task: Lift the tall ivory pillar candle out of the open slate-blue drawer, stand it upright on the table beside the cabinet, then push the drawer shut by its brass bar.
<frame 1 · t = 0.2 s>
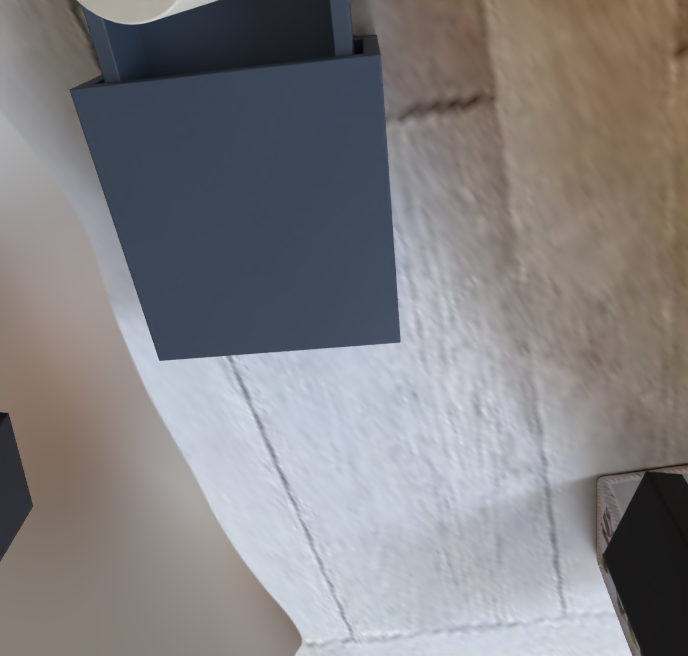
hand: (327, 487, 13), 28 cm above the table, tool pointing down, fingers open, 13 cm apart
cabinet: (271, 183, 38), on the table
decorative jar: (659, 509, 53), on the table
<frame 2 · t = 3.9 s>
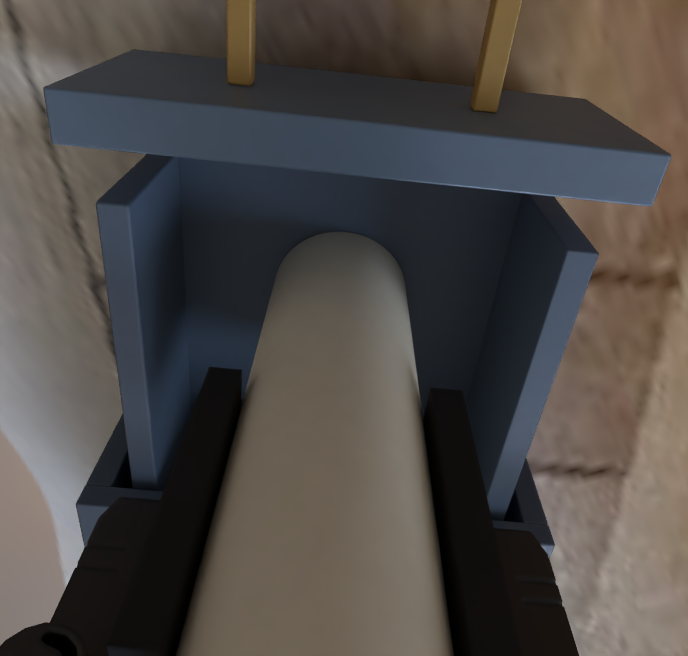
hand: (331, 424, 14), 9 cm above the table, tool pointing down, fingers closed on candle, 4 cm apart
cabinet: (315, 504, 29), on the table
drawer: (343, 270, 18), point 4 cm above the table, slide at 10.5 cm, touching candle
candle: (339, 291, 20), point 2 cm above the table, touching drawer, gripper
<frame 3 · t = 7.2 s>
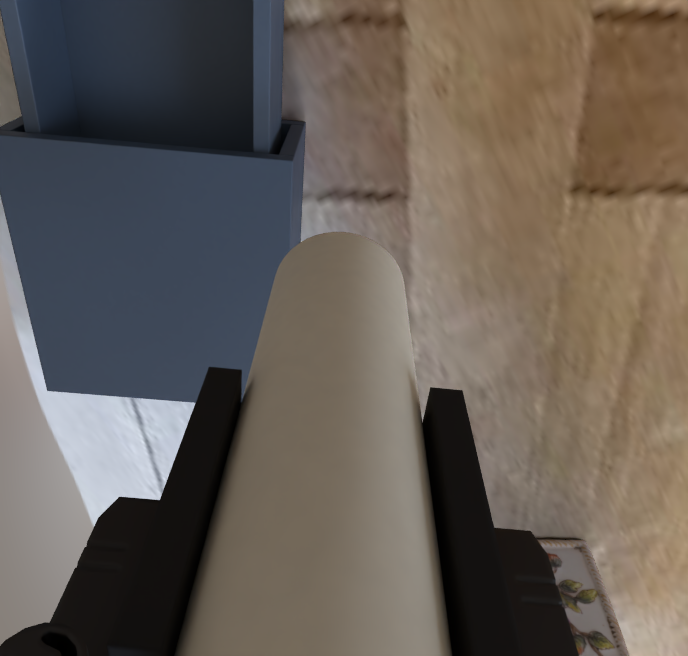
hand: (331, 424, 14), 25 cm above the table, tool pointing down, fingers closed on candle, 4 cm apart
cabinet: (188, 234, 39), on the table
decorative jar: (514, 573, 57), on the table
candle: (339, 291, 20), point 18 cm above the table, touching gripper
when the fingers open (7 cm above the table, at t = 10.7 s): candle stays where it is, on the table.
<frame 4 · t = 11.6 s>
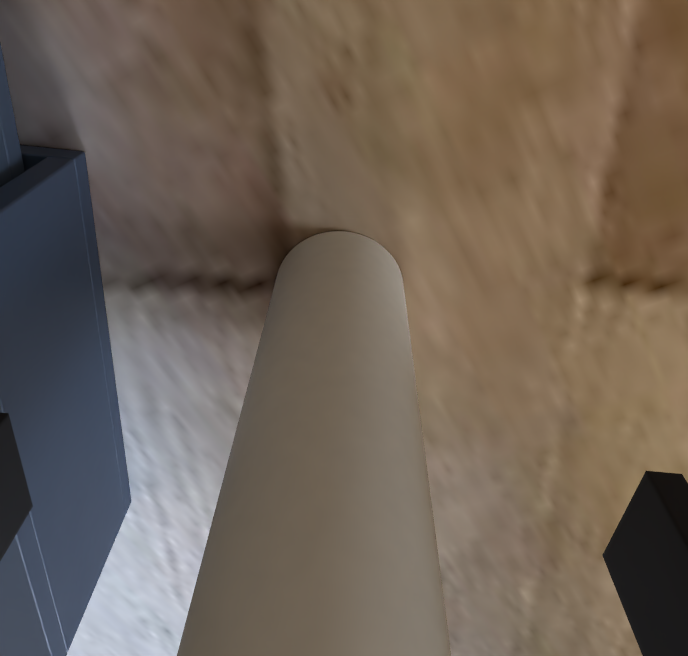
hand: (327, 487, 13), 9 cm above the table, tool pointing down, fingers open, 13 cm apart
candle: (339, 289, 21), on the table
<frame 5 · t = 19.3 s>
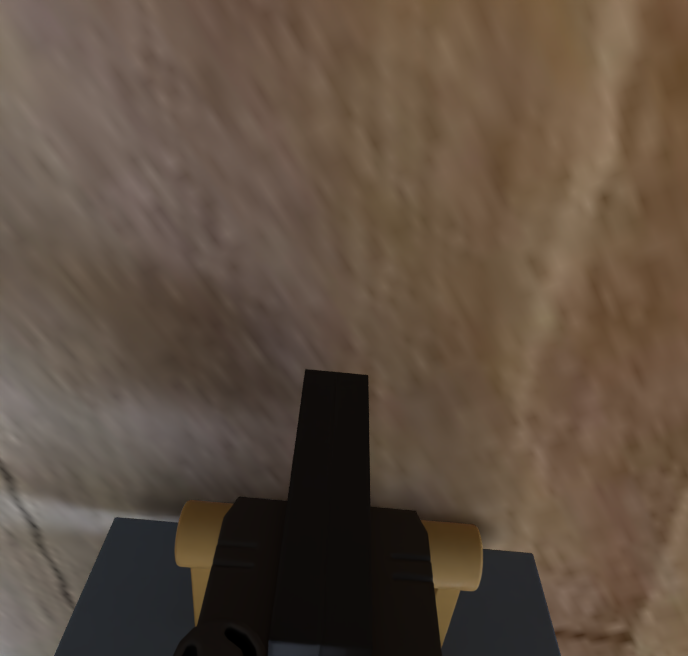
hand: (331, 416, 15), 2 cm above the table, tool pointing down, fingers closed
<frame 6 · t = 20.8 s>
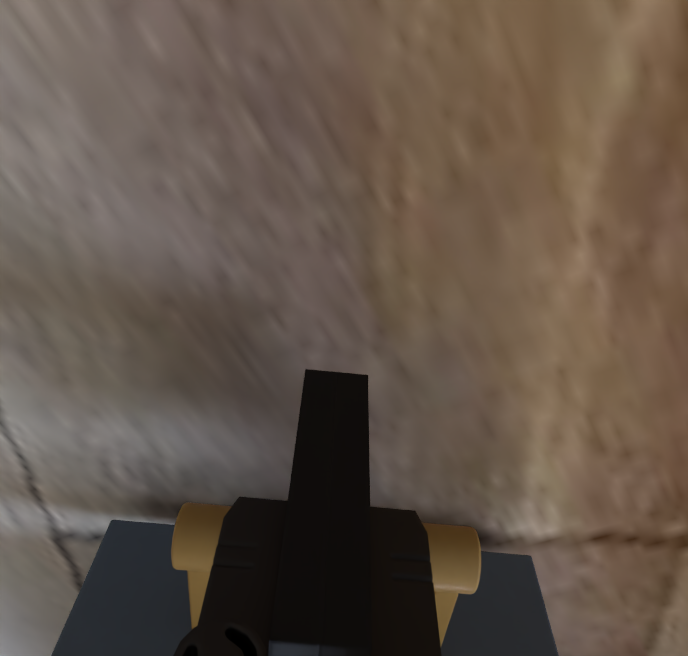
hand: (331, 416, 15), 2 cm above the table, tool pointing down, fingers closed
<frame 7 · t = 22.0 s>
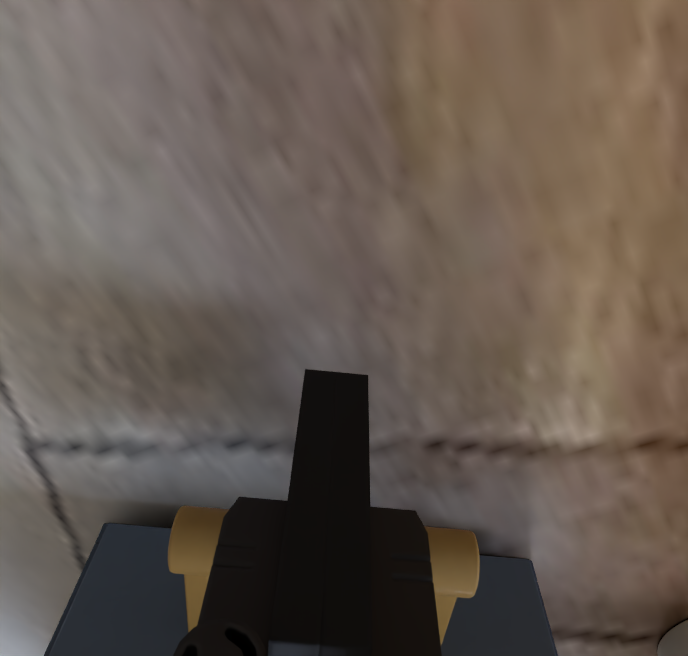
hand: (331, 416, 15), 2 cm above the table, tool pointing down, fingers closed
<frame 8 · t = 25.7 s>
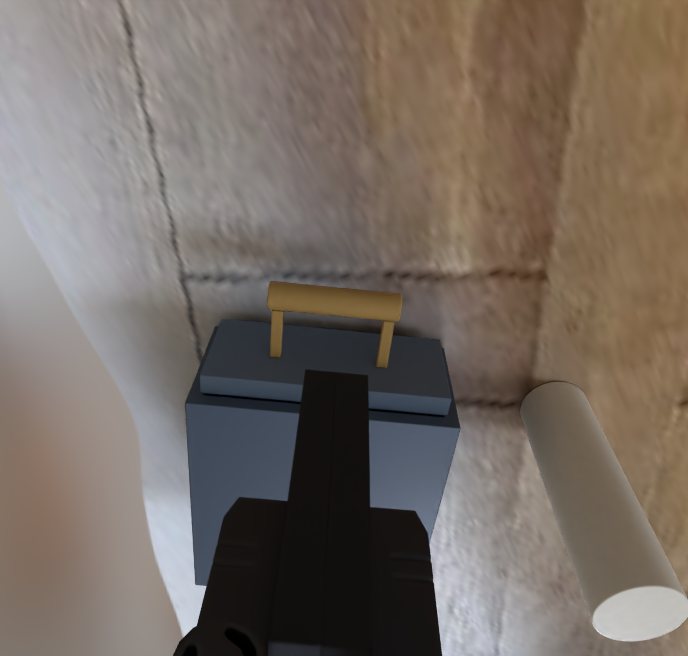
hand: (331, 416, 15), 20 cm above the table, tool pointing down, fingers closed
cabinet: (320, 429, 42), on the table
drawer: (322, 421, 37), point 4 cm above the table, slide at 0.0 cm, touching cabinet
candle: (552, 407, 40), on the table
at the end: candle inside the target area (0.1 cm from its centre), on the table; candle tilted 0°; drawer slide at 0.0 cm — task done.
